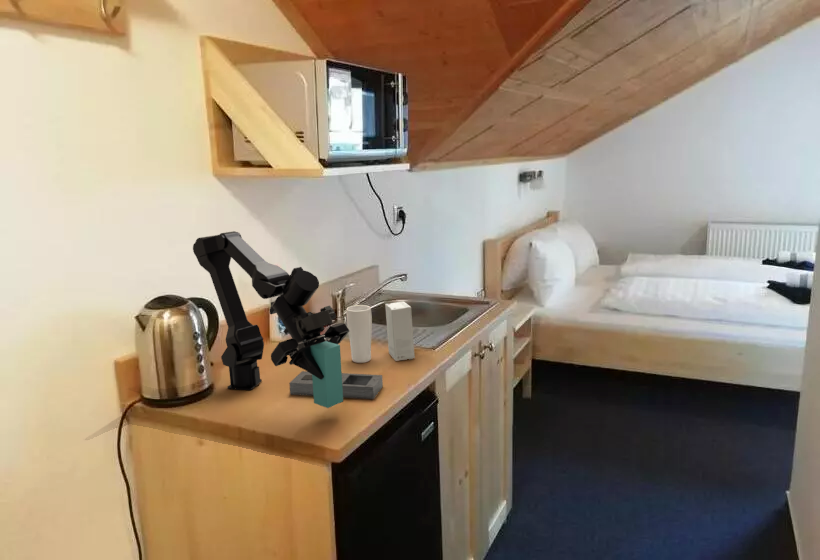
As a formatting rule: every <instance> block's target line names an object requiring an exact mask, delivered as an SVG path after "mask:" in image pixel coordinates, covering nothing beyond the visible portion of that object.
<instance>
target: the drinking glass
mask: <svg viewBox="0 0 820 560" xmlns="http://www.w3.org/2000/svg"><path fill="white" fill-rule="evenodd" d="M372 322H373V318H372V308H371V306H369V305H366V304H357V305H355V304H354V305H351V306H348V307H346V326H347V328H348V329H349V332H348V338H349V339H348V340H349V345H350V347H349V348H350V352H351V353H350V355H351V360H352V362H354V363H357V364H362V363H368V362H369V361H371V359H372V352H371V351H372V329H373V328H372V327H373V326H372V325H373V323H372Z"/></svg>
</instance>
